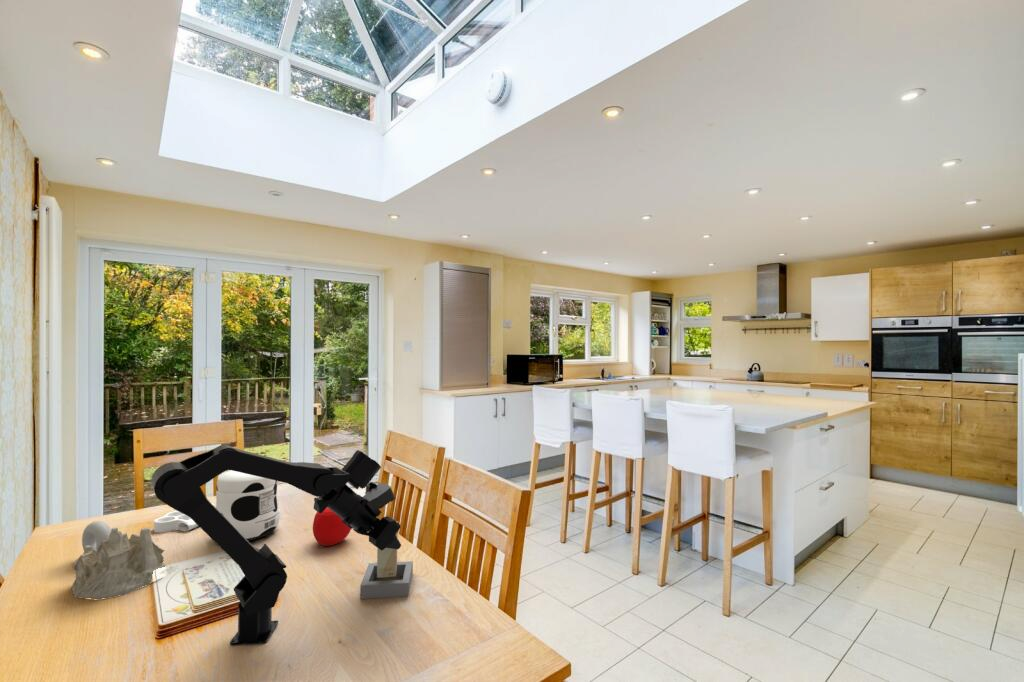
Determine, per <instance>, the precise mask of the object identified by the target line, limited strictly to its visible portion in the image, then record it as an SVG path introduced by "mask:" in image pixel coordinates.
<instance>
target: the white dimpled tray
mask: <svg viewBox="0 0 1024 682" xmlns="http://www.w3.org/2000/svg"><path fill="white" fill-rule="evenodd" d="M211 503H212V504H213V505H214V506H215V503H213V502H211ZM197 527H199V526H198V525H197V524H196V523H195V522H194V521H193V520H192V519H191V518H190V517H189V516H187V515H185V514H183V513H181V512H179V511H177V510H174V511H170V512H168V513H165V514H164V515H163V516H161V517H158V518H155V519H153V532H154V533H156V534H157V533H167V532H172V531H181V532H189V531H190V530H193V529H196V528H197Z"/></svg>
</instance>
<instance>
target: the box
mask: <svg viewBox="0 0 1024 682" xmlns="http://www.w3.org/2000/svg"><path fill="white" fill-rule="evenodd" d="M395 521H396V520H395ZM396 522H398V521H396ZM398 523H399V522H398ZM398 534H399V533H398V532H397V533H396V534H395V535H396V537H397V538H398V539H399V537H398V536H399V535H398ZM376 552H377V556H376V557H377V560H376V563H377V578H376V579H383V578H382V577H391V578H396V577H395V576H396V571H397V562H398V549H392V548H385V549H384V550H382V551H381V550H380V549H378V548H377V551H376Z"/></svg>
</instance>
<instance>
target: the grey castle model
mask: <svg viewBox="0 0 1024 682" xmlns="http://www.w3.org/2000/svg"><path fill="white" fill-rule="evenodd" d="M110 529H111V533H110V535H109V539H108V540H105V541H102V542H101V543H100V545H99V548H98V550H96V549H95V550H93V551H92V547H91V546H89V545H88V546H86V547H85V549H83V553H82V554H80V556H79V557H78V558H77V560H75V561H74V562H73V565H72V570H73V571H75V580H74V581H73V583H72V586H71V590H72V589H73V592H72V595H73V594H74V595H75V596H76V597H75V596H74V595H73V596H74V597H75V598H78V597H83V598H91V599H102V598H108V599H110V598H109V597H113V598H116V597H115V596H117V597H119V596H118V595H121V596H124V595H126V594H130V593H131V591H132V592H134V591H137V590H139V589H141V588H143V587H142V586H144V587H146V586H145V585H147V586H149V585H150V582H151V579H152V574H153V571H154V570H156V569H158V568H162V567H165V566H166V567H167V564H166V563H164V559H165V557H164V556H163V554H162V553H163V552H165V549H163V548H161V547H159V545H157V544H155V542H154V541H153V538H152V533H151V528H150V527H142V528H141V529H140V532H139V535H138V534H135V533H132V534H131V535H130V537H129V536H128V533H127V532H125V533H122V531H121V530H119V528H118V527H112V528H110ZM140 587H141V588H140ZM138 588H139V589H138ZM129 592H130V593H129ZM123 594H124V595H123ZM102 600H103V599H102Z"/></svg>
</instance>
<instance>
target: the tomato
mask: <svg viewBox="0 0 1024 682" xmlns="http://www.w3.org/2000/svg"><path fill="white" fill-rule="evenodd" d="M312 522H313V523H312V533H313V537H314V539H315V541H317V543H318V544H320V545H322V546H325V547H326V546H327V547H328V546H335V545H337V544H339V543H341V542H343V541H344V540H345V539H346V538H347V537H348V535H349V534H350V533H351V531H352V529H351V528H349V527H348V526H347V525H345V524H344V523H343V522H342V519H341V518H340V517H338V515H336V514H335V513H334V512H333V511H331V510H330V509H329V508H328V507H327V508H326V509H325V510H324V511H323V512H322V513H319V512H317V511H316V513H315V515H314V518H313V521H312Z"/></svg>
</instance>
